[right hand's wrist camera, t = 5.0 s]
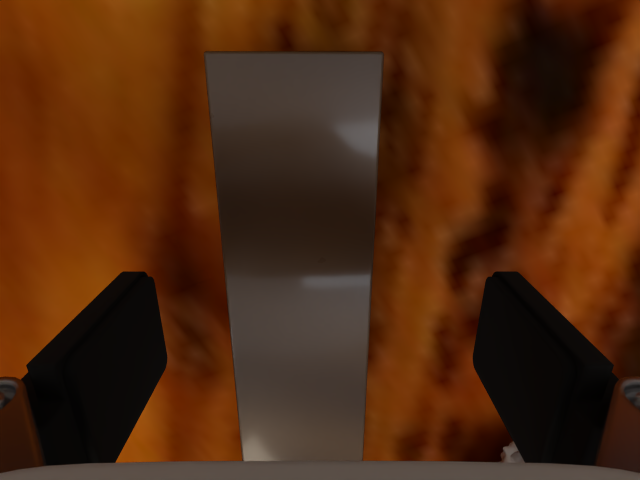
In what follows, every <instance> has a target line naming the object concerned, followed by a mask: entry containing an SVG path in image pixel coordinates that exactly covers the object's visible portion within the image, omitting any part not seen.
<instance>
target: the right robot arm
mask: <svg viewBox="0 0 640 480" xmlns="http://www.w3.org/2000/svg"><path fill="white" fill-rule="evenodd" d="M166 365H167V352H166V346H165V341H164V335H163V329H162V323H161V317H160V312H159V306H158V300H157V294H156V288H155V283H154V279H153V278H152V277H148V275H147V274H146V273H145V272H122V273H120V274H119V275H118V276H117V277H116V278H115V279H114V280H113V281H112V282H111V283H110V284H109V285H108V286H107V287H106V288H105V289H104V290H103V291H102V292H101V293H100V294H99V295H98V296H97V297H96V298H95V299H94V300H93V301H92V302H91V303H90V304H89V305H88V306H87V307H85V308H84V309H83V310H82V311H81V312H80V313H79V314H78V315H77V316H76V317H75V318H74V319H73V320H72V321H71V322H70V323H69V324H68V325H67V326H66V327H65V328H64V329H63V330H62V331H61V332H60V333H59V334H58V335H57V336H56V337H55V338H54V339H53V340H52V341H51V342H50V343H49V344H47V345H46V346H45V347H44V348H43V349H42V350H41V351H40V352H39V353H38V354H37V355H36V356H35V357H34V358H33V359H32V360H31V361H30V362H29V363H28V364H27V365H26V366H27V369H28V373H27V374H26V375H25V376H24V377H23V378H22V379H21V380H20V379H18V378H15V377H0V480H640V377H625V378H622V379H620V380H619V379H618V378H617V377H616V376H615V375H614V374H613V373H612V369H613V366H614V365H613V364H612V363H611V362H610V361H609V360H608V359H607V358H606V357H605V356H604V355H603V354H602V353H601V352H600V351H599V350H598V349H597V348H596V347H595V346H594V345H593V344H591V343H590V342H589V341H588V340H587V339H586V338H585V337H584V336H583V335H582V334H581V333H580V332H579V331H578V330H577V329H576V328H575V327H574V326H573V325H572V324H571V323H570V322H569V321H568V320H567V319H566V318H565V317H564V316H563V315H562V314H561V313H560V312H559V311H558V310H557V309H556V308H555V307H553V306H552V305H551V304H550V303H549V302H548V301H547V300H546V299H545V298H544V297H543V296H542V295H541V294H540V293H539V292H538V291H537V290H536V289H535V288H534V287H533V286H532V285H531V284H530V283H529V282H528V281H527V280H526V279H525V278H524V277H523V276H522V275H521V274H520V273H518V272H495V273H494V274H493V275H492V277H488V278H487V279H486V283H485V288H484V294H483V300H482V306H481V312H480V317H479V323H478V329H477V335H476V341H475V346H474V352H473V365H474V368H475V370H476V372H477V374H478V376H479V378H480V380H481V382H482V383H483V385H484V387H485V389H486V391H487V393H488V395H489V396H490V398H491V400H492V402H493V404H494V406H495V408H496V410H497V411H498V413H499V415H500V417H501V419H502V421H503V423H504V425H505V426H506V428H507V430H508V432H509V434H510V436H511V438H512V440H513V441H514V443H515V445H516V447H517V449H518V451H519V453H520V454H521V456H522V458H523V460H524V462H525V463H507V462H456V461H184V462H133V463H115V462H116V460H117V458H118V456H119V454H120V453H121V451H122V449H123V447H124V445H125V443H126V441H127V440H128V438H129V436H130V434H131V432H132V430H133V428H134V426H135V425H136V423H137V421H138V419H139V417H140V415H141V413H142V411H143V410H144V408H145V406H146V404H147V402H148V400H149V398H150V396H151V395H152V393H153V391H154V389H155V387H156V385H157V383H158V382H159V380H160V378H161V376H162V374H163V372H164V370H165V368H166Z"/></svg>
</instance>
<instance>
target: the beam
mask: <svg viewBox="0 0 640 480" xmlns="http://www.w3.org/2000/svg"><path fill="white" fill-rule="evenodd" d="M204 62H205V73H206V83H207V94H208V104H209V115H210V125H211V136H212V146H213V157H214V167H215V178H216V188H217V199H218V209H219V220H220V230H221V241H222V251H223V262H224V272H225V282H226V293H227V303H228V314H229V324H230V335H231V345H232V356H233V366H234V377H235V387H236V398H237V408H238V419H239V429H240V440H241V450H242V461H363V444H364V425H365V406H366V387H367V368H368V349H369V330H370V311H371V291H372V272H373V253H374V234H375V215H376V196H377V177H378V158H379V139H380V120H381V101H382V82H383V63H384V54H383V52H343V51H206V52H204Z"/></svg>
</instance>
